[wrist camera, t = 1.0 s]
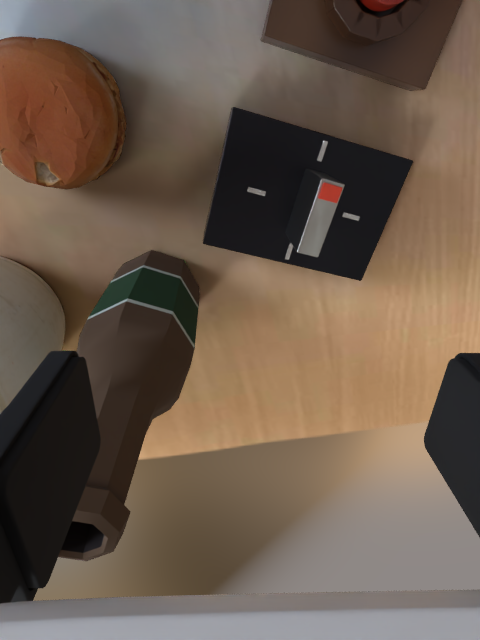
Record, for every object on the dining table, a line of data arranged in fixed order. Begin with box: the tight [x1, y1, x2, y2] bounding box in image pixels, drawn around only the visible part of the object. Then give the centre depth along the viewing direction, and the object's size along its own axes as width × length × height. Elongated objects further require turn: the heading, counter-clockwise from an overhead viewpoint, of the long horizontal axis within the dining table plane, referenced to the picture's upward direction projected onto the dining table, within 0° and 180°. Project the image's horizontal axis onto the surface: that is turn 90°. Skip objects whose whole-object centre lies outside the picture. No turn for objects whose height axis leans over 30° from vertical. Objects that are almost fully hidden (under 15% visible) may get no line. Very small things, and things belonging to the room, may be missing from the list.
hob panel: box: [203, 107, 413, 281], centre depth 31 cm, size 14×10×3 cm
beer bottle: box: [58, 250, 200, 561], centre depth 25 cm, size 8×8×24 cm
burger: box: [0, 37, 127, 189], centre depth 27 cm, size 10×9×5 cm
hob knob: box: [286, 168, 345, 257], centre depth 27 cm, size 5×2×5 cm, turn 165°
